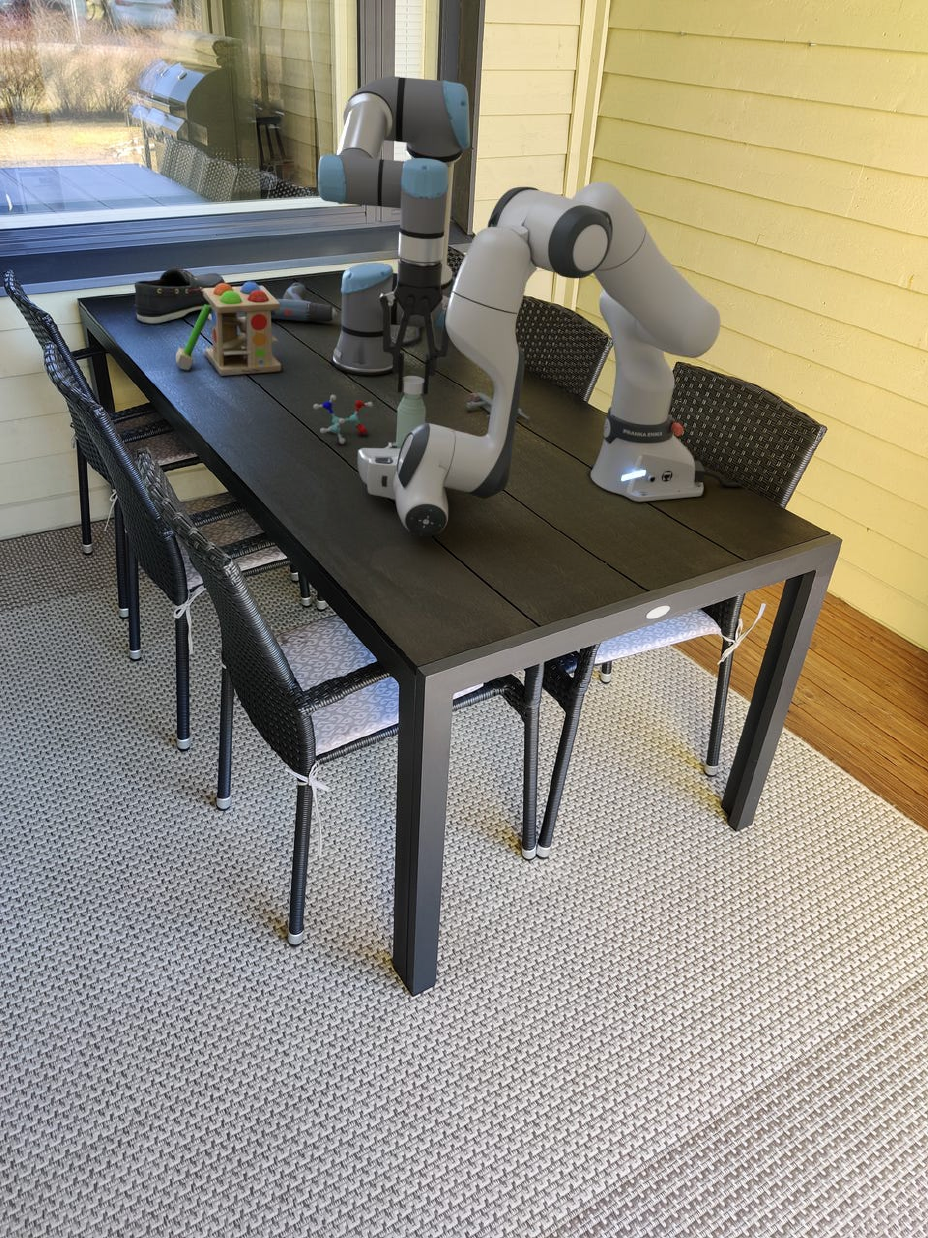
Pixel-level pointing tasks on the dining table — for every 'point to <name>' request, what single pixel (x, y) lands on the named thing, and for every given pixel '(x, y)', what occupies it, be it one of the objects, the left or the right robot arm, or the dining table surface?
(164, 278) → the boat shoe
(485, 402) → the clamp
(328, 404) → the molecular model
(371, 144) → the left robot arm
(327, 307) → the power drill
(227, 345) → the pounding bench toy
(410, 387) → the cap
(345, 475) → the dining table surface
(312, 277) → the dining table surface
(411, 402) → the bottle
